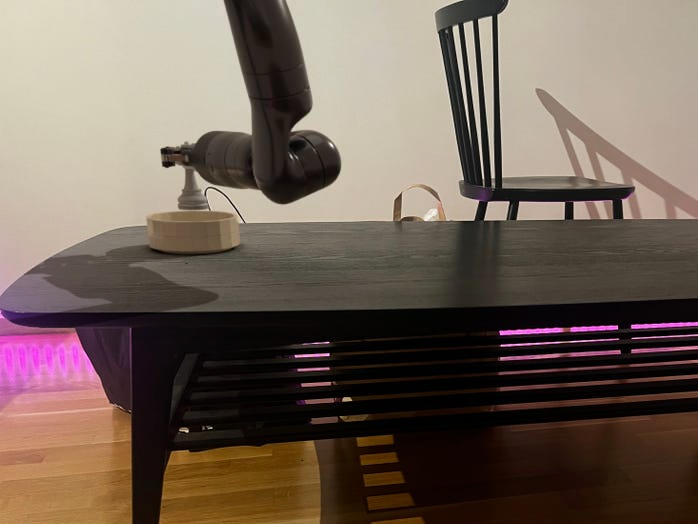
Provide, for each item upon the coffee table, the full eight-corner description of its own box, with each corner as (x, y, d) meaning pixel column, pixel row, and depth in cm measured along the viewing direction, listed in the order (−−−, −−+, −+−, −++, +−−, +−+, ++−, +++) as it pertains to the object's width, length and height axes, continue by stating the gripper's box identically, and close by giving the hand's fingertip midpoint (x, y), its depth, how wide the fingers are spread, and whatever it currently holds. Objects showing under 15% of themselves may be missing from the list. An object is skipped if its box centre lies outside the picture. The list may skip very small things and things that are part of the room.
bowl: (171, 259, 101) (168, 224, 100) (136, 246, 110) (132, 213, 108) (255, 249, 110) (253, 217, 109) (216, 238, 119) (213, 208, 117)
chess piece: (212, 207, 110) (206, 141, 107) (203, 210, 106) (196, 141, 103) (184, 206, 110) (176, 140, 107) (173, 210, 106) (165, 141, 103)
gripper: (276, 131, 100) (219, 129, 111) (180, 130, 90) (128, 128, 102) (280, 185, 102) (224, 177, 114) (186, 190, 93) (135, 181, 104)
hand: (179, 154), depth 107 cm, fingers closed on chess piece, 2 cm apart
